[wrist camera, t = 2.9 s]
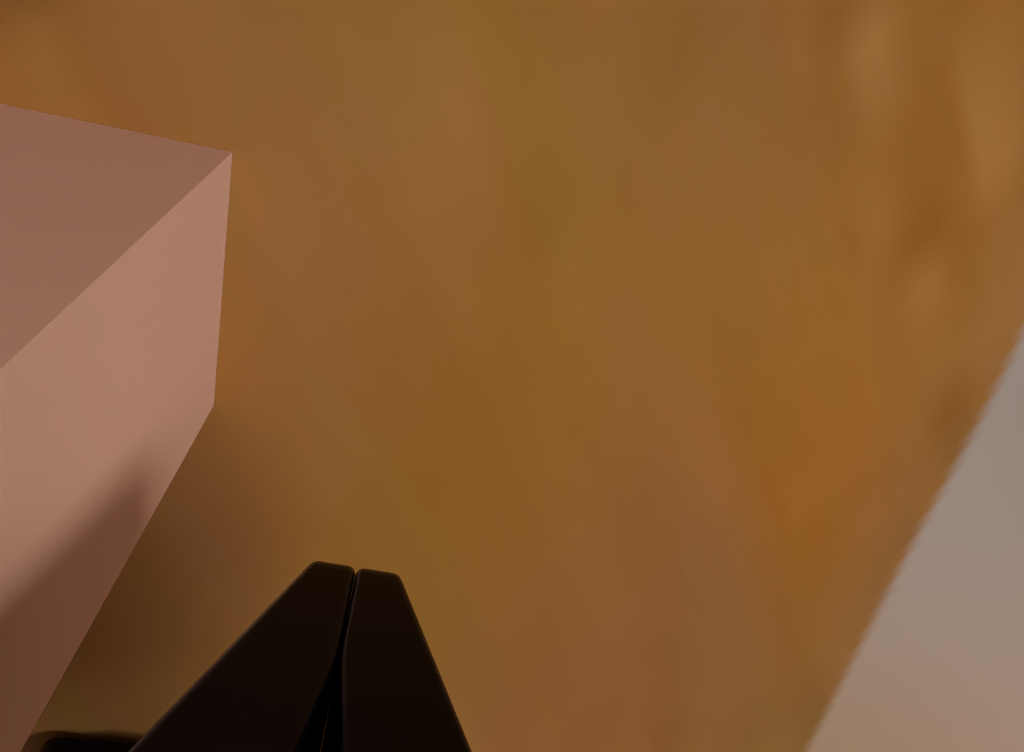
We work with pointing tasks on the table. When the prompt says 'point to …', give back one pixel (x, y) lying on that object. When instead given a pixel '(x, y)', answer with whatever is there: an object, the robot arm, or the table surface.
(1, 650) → the block
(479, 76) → the table surface
